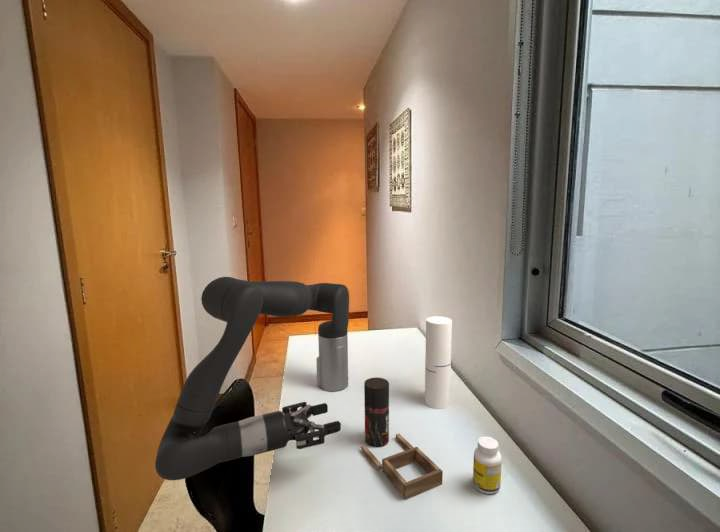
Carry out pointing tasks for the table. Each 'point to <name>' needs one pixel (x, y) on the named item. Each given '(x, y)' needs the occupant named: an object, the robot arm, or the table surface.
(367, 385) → the deodorant
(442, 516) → the table surface
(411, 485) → the socket track
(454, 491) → the table surface
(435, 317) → the cylindrical container
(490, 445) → the supplement bottle
